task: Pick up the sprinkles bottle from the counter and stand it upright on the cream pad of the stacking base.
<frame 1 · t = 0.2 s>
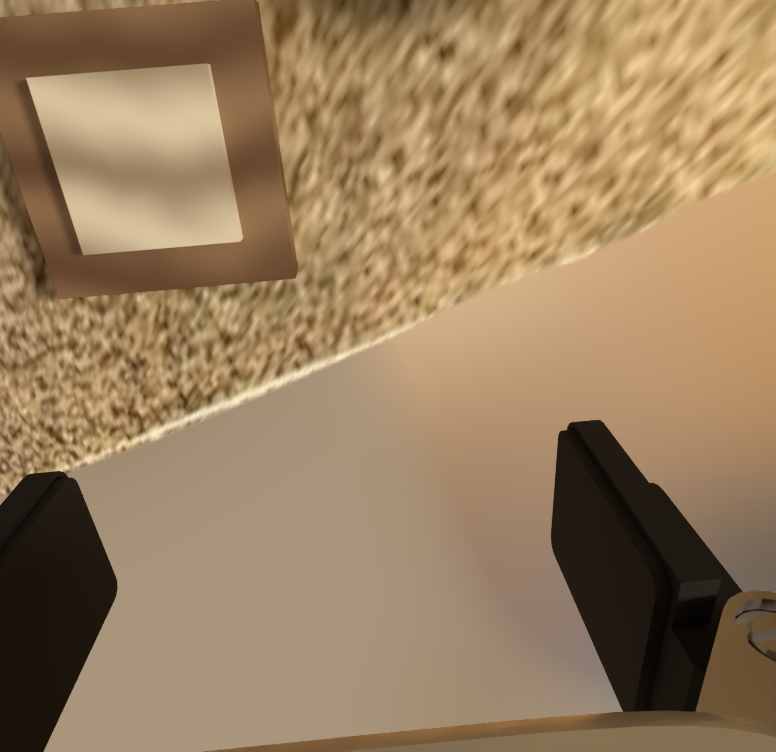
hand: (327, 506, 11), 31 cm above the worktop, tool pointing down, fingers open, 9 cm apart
stacking base: (156, 160, 36), on the worktop
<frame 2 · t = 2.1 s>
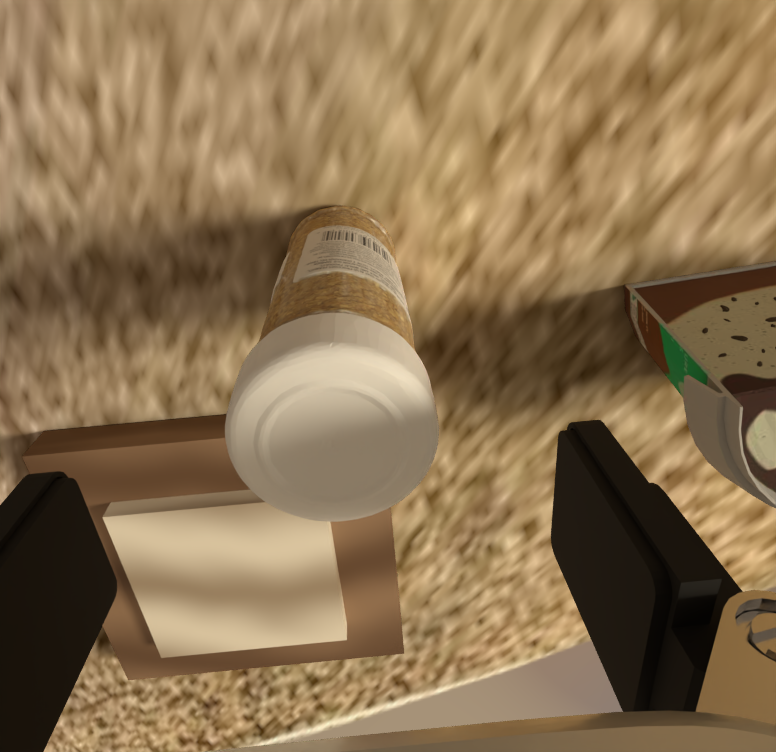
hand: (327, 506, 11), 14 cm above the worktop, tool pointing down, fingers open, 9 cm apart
stacking base: (245, 539, 30), on the worktop
sprinkles bottle: (343, 257, 24), on the worktop
food container: (718, 330, 26), on the worktop
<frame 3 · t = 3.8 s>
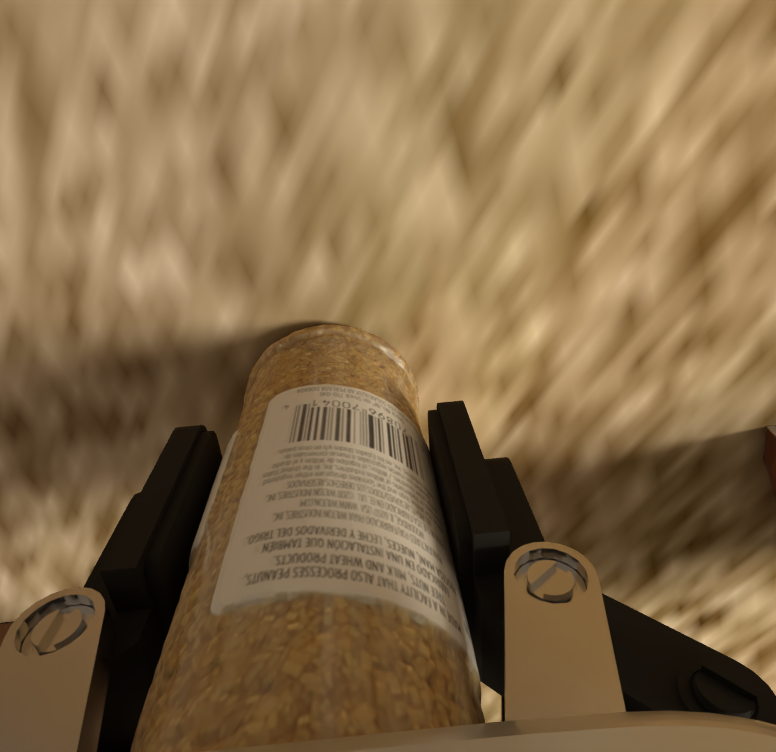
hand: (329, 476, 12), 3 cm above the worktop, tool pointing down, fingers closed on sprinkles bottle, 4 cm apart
sprinkles bottle: (335, 395, 15), on the worktop, touching gripper
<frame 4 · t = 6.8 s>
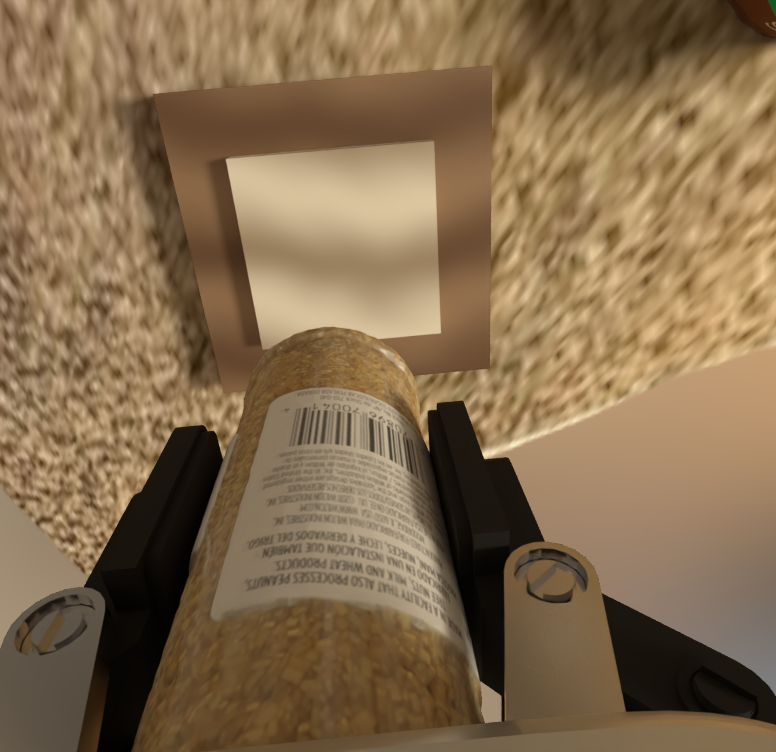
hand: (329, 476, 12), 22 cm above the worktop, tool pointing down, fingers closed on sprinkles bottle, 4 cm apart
stacking base: (342, 239, 32), on the worktop
sprinkles bottle: (335, 397, 15), point 19 cm above the worktop, touching gripper
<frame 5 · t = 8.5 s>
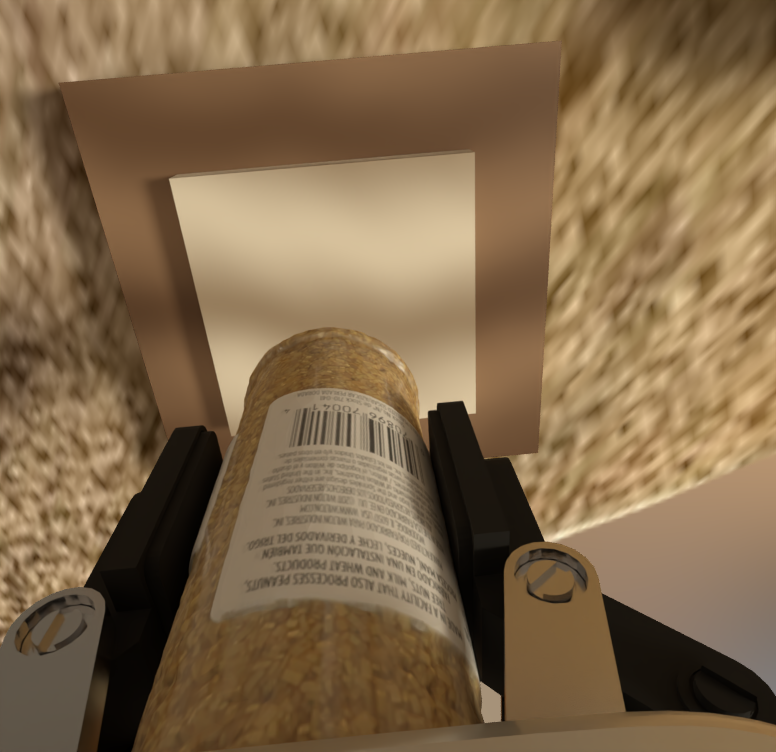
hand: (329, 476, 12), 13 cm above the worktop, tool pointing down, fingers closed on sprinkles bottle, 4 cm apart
stacking base: (341, 284, 23), on the worktop
sprinkles bottle: (336, 397, 15), point 9 cm above the worktop, touching gripper
when the fingers open (8 cm above the worktop, at t = 9.9 s): sprinkles bottle drops 1 cm, resting on stacking base.
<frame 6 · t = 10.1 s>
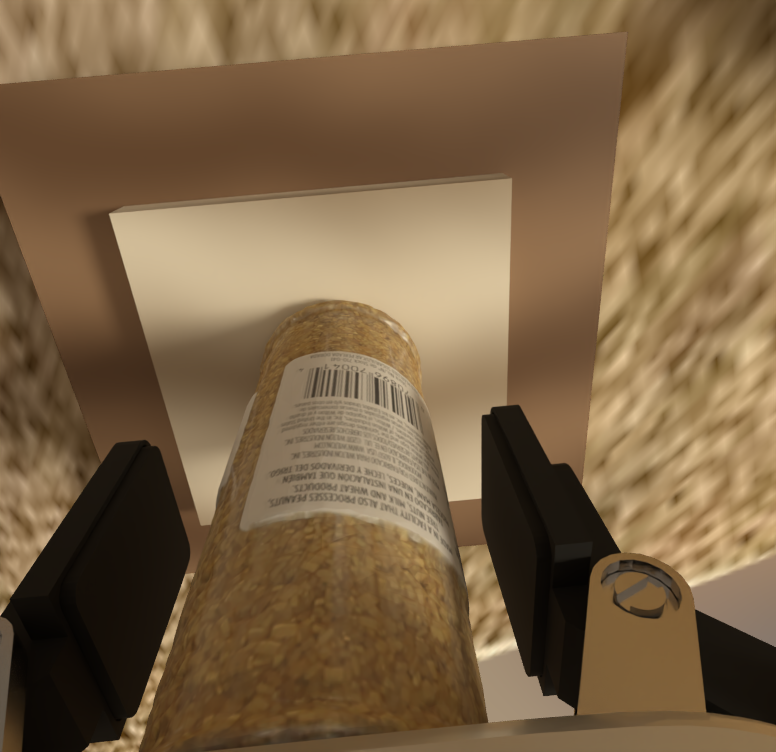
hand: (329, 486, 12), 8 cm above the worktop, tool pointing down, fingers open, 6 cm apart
stacking base: (337, 335, 19), on the worktop
sprinkles bottle: (344, 367, 16), point 3 cm above the worktop, touching stacking base
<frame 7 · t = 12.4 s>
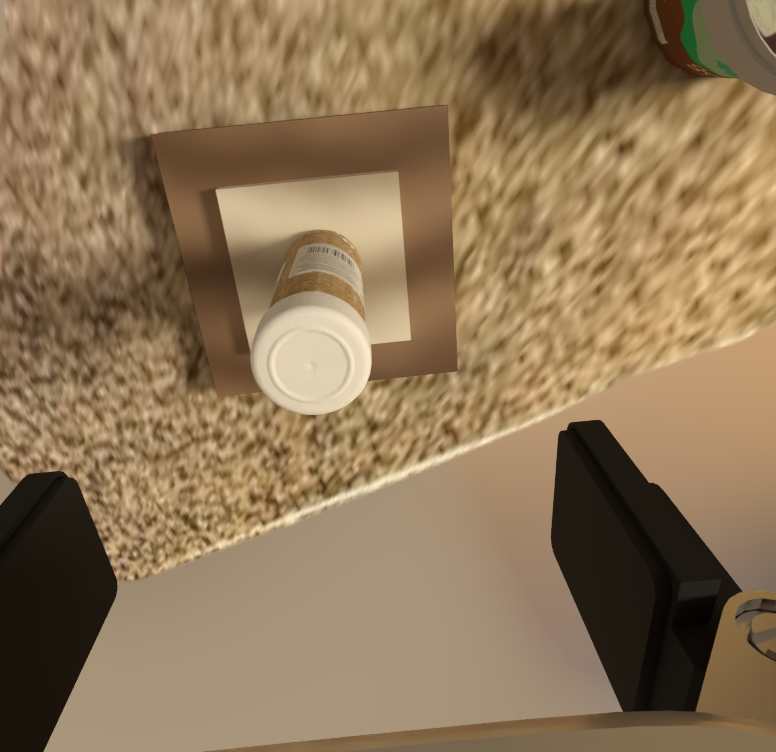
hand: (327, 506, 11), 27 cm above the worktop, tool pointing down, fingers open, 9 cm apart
stacking base: (322, 257, 36), on the worktop
sprinkles bottle: (324, 266, 33), point 3 cm above the worktop, touching stacking base
food container: (721, 38, 32), on the worktop
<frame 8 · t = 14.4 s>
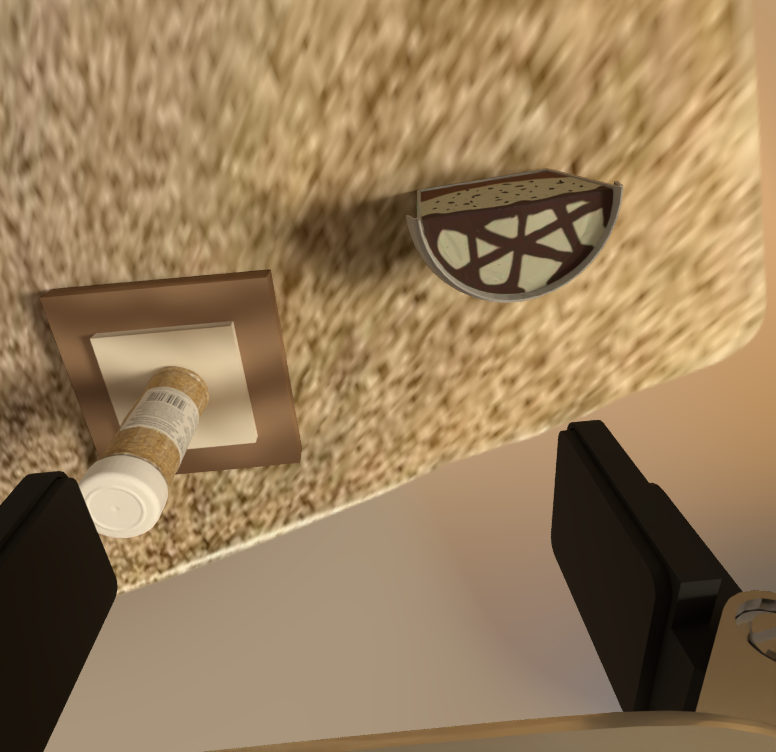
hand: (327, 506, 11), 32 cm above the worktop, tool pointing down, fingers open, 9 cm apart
stacking base: (187, 375, 45), on the worktop
sprinkles bottle: (181, 390, 42), point 3 cm above the worktop, touching stacking base
food container: (484, 222, 41), on the worktop
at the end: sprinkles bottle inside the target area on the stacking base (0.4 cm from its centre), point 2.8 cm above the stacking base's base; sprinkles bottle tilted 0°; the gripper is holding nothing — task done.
